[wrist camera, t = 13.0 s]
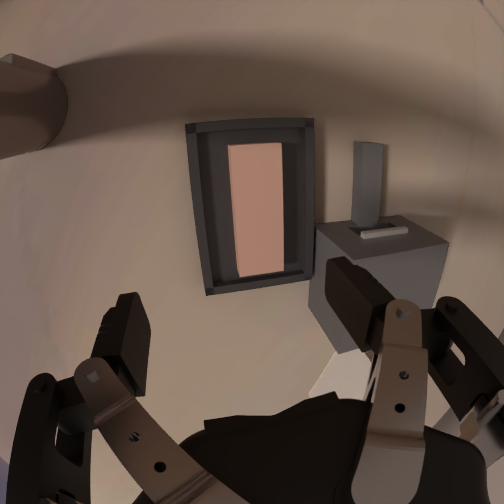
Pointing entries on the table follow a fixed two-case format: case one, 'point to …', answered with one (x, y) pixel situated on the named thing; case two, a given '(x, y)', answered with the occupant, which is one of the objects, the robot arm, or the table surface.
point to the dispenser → (375, 248)
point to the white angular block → (344, 376)
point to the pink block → (257, 206)
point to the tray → (220, 202)
